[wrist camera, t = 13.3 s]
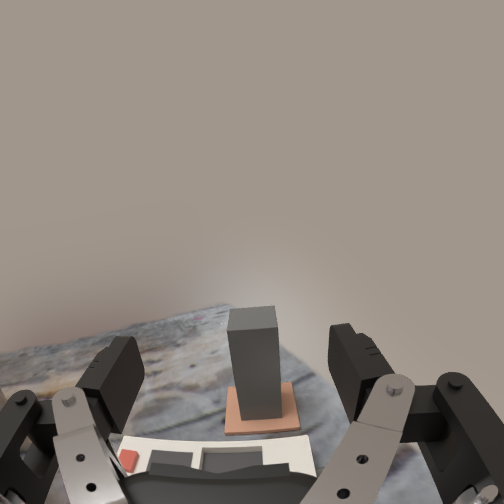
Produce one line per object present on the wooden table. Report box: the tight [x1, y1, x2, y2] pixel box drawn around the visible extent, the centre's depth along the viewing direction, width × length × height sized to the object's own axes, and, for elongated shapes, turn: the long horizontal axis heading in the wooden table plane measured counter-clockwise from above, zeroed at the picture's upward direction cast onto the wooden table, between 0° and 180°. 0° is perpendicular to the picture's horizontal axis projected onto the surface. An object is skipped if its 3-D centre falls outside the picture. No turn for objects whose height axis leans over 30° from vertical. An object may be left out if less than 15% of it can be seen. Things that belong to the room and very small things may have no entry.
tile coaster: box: [225, 382, 300, 435], centre depth 31 cm, size 8×8×1 cm
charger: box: [227, 306, 282, 421], centre depth 29 cm, size 4×5×12 cm
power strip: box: [117, 435, 325, 477], centre depth 20 cm, size 22×7×4 cm, turn 91°
